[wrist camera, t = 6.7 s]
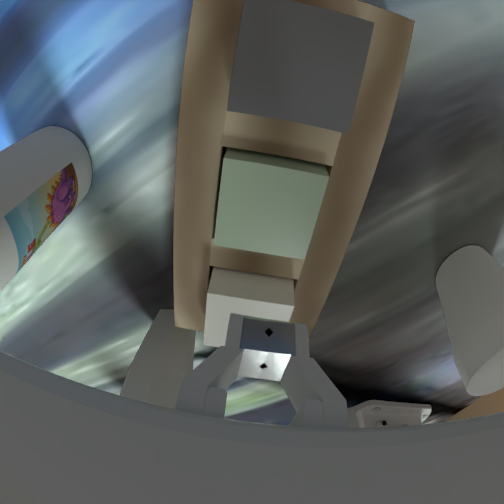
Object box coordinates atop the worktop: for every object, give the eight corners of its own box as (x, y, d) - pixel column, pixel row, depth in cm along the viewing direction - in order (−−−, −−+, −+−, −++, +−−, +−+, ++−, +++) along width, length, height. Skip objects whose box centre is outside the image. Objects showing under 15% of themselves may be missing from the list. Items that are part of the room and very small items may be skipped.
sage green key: (320, 154, 20) (329, 177, 17) (300, 227, 24) (304, 259, 21) (232, 138, 20) (223, 157, 17) (222, 214, 24) (213, 245, 21)
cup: (412, 266, 27) (456, 374, 17) (487, 217, 23) (556, 309, 13) (437, 314, 31) (470, 406, 21) (501, 274, 27) (549, 358, 17)
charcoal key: (354, 27, 14) (374, 22, 11) (334, 117, 18) (347, 134, 14) (251, 6, 14) (245, -6, 11) (236, 98, 17) (226, 110, 14)
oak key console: (391, 24, 15) (414, 21, 12) (303, 314, 31) (305, 346, 28) (211, -13, 15) (197, -25, 12) (184, 296, 31) (174, 326, 28)
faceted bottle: (148, 333, 35) (96, 512, 17) (147, 296, 31) (76, 505, 14) (201, 345, 36) (166, 531, 18) (206, 310, 32) (162, 531, 14)
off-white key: (292, 269, 25) (294, 306, 22) (277, 319, 28) (276, 355, 25) (216, 256, 24) (207, 292, 21) (210, 309, 28) (203, 344, 25)
